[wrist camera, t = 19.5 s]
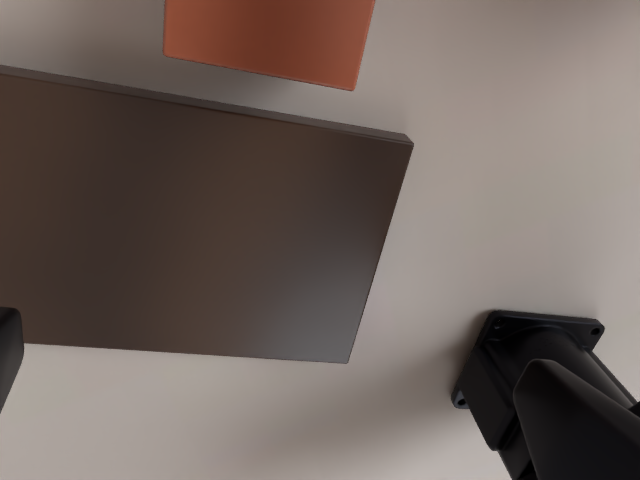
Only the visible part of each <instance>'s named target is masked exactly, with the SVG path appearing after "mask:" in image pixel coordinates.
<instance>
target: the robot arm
mask: <svg viewBox="0 0 640 480" xmlns="http://www.w3.org/2000/svg"><path fill="white" fill-rule="evenodd" d="M498 320H500V321H498ZM496 321H498V322H496ZM604 330H605V328H604V326H603V325H602V324H601V323H600V322H599V321H598V320H596V319H587V318H577V317H566V316H555V315H545V314H534V313H523V312H513V311H502V310H498V311H494V312H492V313H491V314H489V316H488V317H487V319H486V321H485V324H484V326H483V328H482V330H481V332H480V334H479V337H478V339H477V341H476V343H475V345H474V348H473V350H472V351H471V354H470V356H469V358H468V360H467V362H466V364H465V367H464V369H463V371H462V373H461V375H460V378H459V380H458V382H457V384H456V387H455V389H454V391H453V393H452V395H451V401H452V403H453V405H454V407H456V408H459V409H470V411H471V413H472V415H473V417H474V419H475V421H476V423H477V425H478V427H479V429H480V431H481V433H482V435H483V437H484V439H485V441H486V443H487V445H488V446H489V448H490V449H491V450H492V451H498V453H499V455H500V457H501V459H502V461H503V463H504V465H505V467H506V469H507V471H508V473H509V475H510V477H511V478H512V480H640V401H639V402H637V401H636V400H635V399H634V397H633V396H632V395H631V394H630V393H629V392H628V391H627V390H626V388H625V387H624V386H623V385H622V384H621V383H620V382H619V381H618V380H617V378H616V377H615V376H614V375H613V374H612V373H611V372H610V371H609V370H608V368H607V367H606V366H605V365H604V364H603V363H602V362H601V361H600V360H599V358H598V357H597V356H596V355H595V354H594V353H593V352H592V350H593V349H594V347H595V345H596V344H597V342H598V341H599V339H600V337H601V336H602V334H603V332H604ZM23 355H24V342H23V331H22V320H21V314H20V312H19V310H17V309H16V308H11V307H1V306H0V413H1V411H2V408H3V406H4V404H5V401H6V399H7V396H8V394H9V392H10V389H11V387H12V385H13V382H14V380H15V377H16V375H17V373H18V370H19V368H20V366H21V363H22V360H23Z"/></svg>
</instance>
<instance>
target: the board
mask: <svg viewBox="0 0 640 480" xmlns="http://www.w3.org/2000/svg"><path fill="white" fill-rule="evenodd" d="M413 147H414V143H413V142H412V141H411V140H410V139H409V138H408V137H407V136H406V135H405V134H401V133H395V132H389V131H383V130H377V129H372V128H366V127H360V126H354V125H348V124H342V123H337V122H331V121H325V120H319V119H313V118H307V117H302V116H296V115H290V114H284V113H278V112H272V111H267V110H261V109H255V108H249V107H243V106H237V105H232V104H226V103H220V102H214V101H208V100H202V99H197V98H191V97H185V96H179V95H173V94H167V93H162V92H156V91H150V90H144V89H138V88H132V87H127V86H121V85H115V84H109V83H103V82H97V81H92V80H86V79H80V78H74V77H68V76H62V75H57V74H51V73H45V72H39V71H33V70H27V69H22V68H16V67H10V66H4V65H0V306H1V307H11V308H16V309H17V310H19V312H20V314H21V320H22V331H23V342H24V343H29V344H45V345H61V346H76V347H92V348H108V349H124V350H139V351H155V352H171V353H187V354H202V355H218V356H234V357H250V358H265V359H281V360H297V361H312V362H328V363H344V364H347V363H348V361H349V357H350V354H351V351H352V348H353V344H354V341H355V338H356V334H357V331H358V328H359V325H360V321H361V318H362V315H363V311H364V308H365V305H366V301H367V298H368V295H369V292H370V288H371V285H372V282H373V278H374V275H375V272H376V268H377V265H378V262H379V259H380V255H381V252H382V249H383V245H384V242H385V239H386V236H387V232H388V229H389V226H390V222H391V219H392V216H393V212H394V209H395V206H396V203H397V199H398V196H399V193H400V189H401V186H402V183H403V180H404V176H405V173H406V170H407V166H408V163H409V160H410V156H411V153H412V150H413Z"/></svg>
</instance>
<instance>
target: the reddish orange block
mask: <svg viewBox="0 0 640 480" xmlns="http://www.w3.org/2000/svg"><path fill="white" fill-rule="evenodd" d="M374 4H375V0H165V4H164V28H163V55H165V56H166V57H171V58H177V59H182V60H187V61H193V62H198V63H203V64H209V65H214V66H219V67H225V68H230V69H235V70H241V71H246V72H251V73H257V74H262V75H267V76H273V77H278V78H284V79H289V80H294V81H300V82H305V83H310V84H316V85H321V86H326V87H332V88H337V89H342V90H348V91H353V90H354V89H355V86H356V82H357V78H358V73H359V69H360V65H361V60H362V56H363V52H364V47H365V43H366V39H367V34H368V30H369V26H370V21H371V17H372V13H373V8H374Z"/></svg>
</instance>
